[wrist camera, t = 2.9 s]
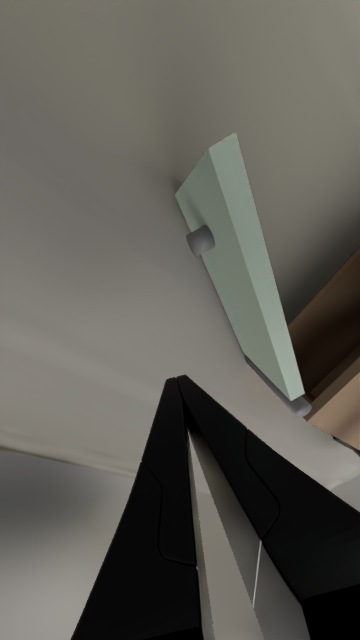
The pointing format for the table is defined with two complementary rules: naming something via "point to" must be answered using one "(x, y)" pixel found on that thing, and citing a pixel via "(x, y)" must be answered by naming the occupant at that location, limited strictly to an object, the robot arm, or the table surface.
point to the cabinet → (332, 354)
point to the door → (241, 266)
